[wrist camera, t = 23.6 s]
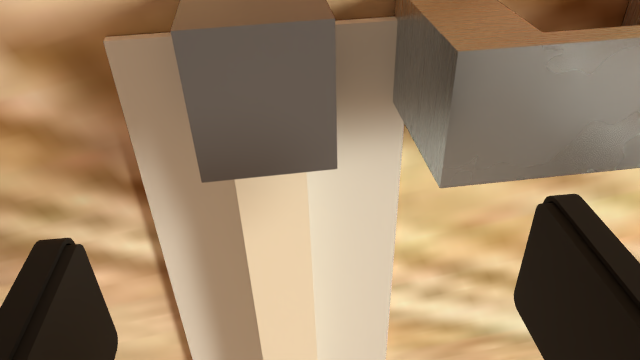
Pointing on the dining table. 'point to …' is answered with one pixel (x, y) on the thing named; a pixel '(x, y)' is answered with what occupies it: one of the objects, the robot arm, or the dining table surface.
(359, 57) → the mat
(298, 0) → the cream rectangular bar
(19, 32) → the dining table surface
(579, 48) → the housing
